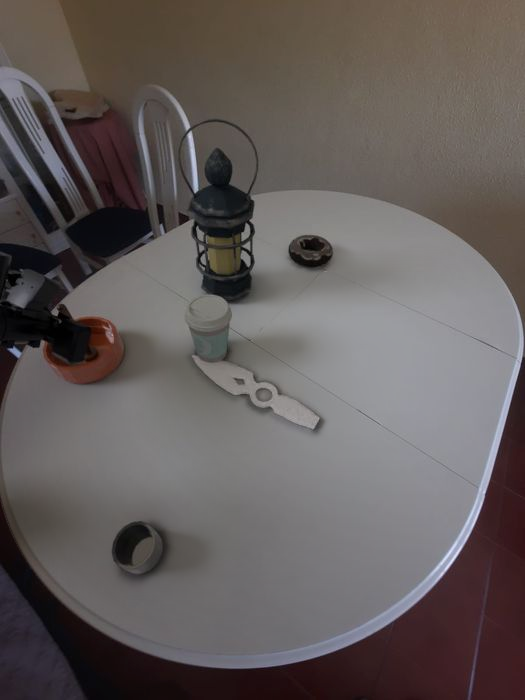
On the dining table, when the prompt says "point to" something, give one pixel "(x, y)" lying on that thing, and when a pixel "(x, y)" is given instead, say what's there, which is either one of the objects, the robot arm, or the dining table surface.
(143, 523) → the utensil holder
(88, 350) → the brown wooden rod
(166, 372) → the dining table surface
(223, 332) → the coffee cup
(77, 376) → the bowl
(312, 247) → the donut
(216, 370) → the knife
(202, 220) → the lantern
